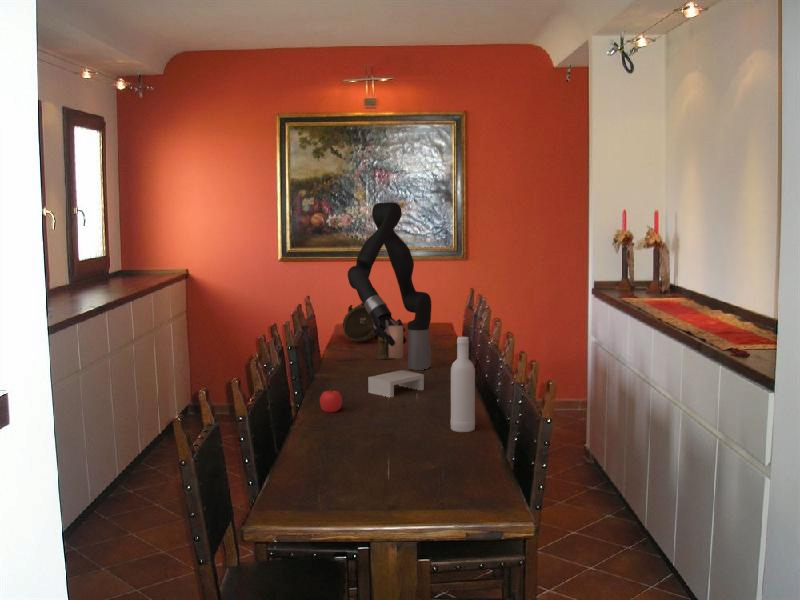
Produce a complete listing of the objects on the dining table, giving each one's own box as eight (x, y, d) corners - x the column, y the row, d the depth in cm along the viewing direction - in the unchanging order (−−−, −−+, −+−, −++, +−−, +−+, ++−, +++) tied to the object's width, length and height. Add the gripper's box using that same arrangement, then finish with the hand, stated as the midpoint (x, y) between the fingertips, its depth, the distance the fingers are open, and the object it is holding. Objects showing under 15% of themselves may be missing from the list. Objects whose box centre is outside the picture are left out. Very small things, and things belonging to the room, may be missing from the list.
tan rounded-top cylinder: (396, 355, 344) (395, 324, 343) (406, 357, 340) (406, 326, 339) (385, 357, 340) (385, 326, 339) (395, 359, 336) (395, 327, 335)
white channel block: (401, 385, 352) (401, 370, 352) (423, 389, 344) (423, 374, 343) (368, 392, 340) (368, 377, 339) (390, 397, 331) (390, 381, 331)
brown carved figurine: (375, 361, 400) (374, 322, 398) (375, 356, 413) (375, 317, 411) (394, 361, 400) (394, 322, 398) (394, 356, 413) (394, 317, 411)
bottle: (458, 433, 283) (458, 340, 279) (445, 427, 289) (445, 336, 286) (479, 430, 286) (480, 338, 282) (466, 424, 293) (467, 334, 289)
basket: (344, 308, 478) (331, 307, 444) (382, 290, 476) (371, 287, 442) (363, 348, 476) (351, 349, 442) (401, 330, 474) (392, 330, 439)
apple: (333, 414, 307) (333, 392, 306) (315, 412, 311) (314, 389, 310) (346, 409, 314) (346, 387, 313) (328, 407, 318) (328, 385, 317)
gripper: (368, 305, 338) (390, 339, 331) (395, 301, 348) (417, 335, 341) (359, 317, 342) (380, 352, 335) (386, 313, 352) (407, 347, 346)
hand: (399, 343), depth 338 cm, fingers closed on tan rounded-top cylinder, 5 cm apart
